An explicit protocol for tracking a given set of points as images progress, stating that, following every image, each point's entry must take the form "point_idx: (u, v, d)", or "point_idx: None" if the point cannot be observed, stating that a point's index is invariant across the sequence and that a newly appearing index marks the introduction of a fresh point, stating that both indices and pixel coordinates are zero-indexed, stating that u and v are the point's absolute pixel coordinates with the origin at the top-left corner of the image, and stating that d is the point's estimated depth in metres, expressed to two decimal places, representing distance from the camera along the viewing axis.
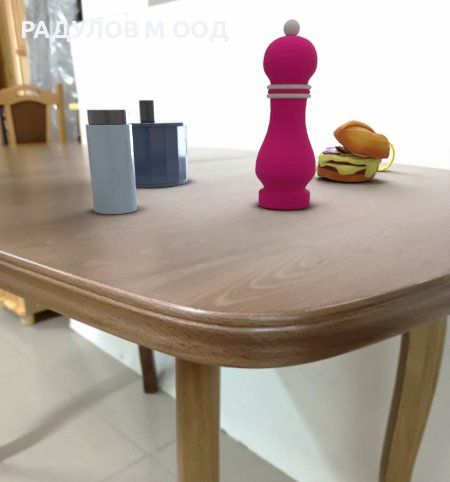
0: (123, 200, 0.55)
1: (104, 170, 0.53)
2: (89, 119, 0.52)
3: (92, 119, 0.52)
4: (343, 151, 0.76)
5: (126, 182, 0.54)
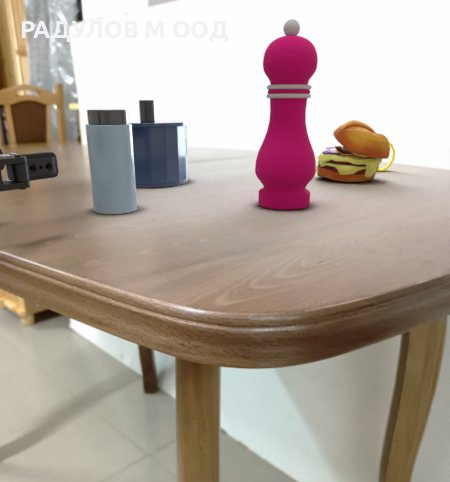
0: (123, 200, 0.55)
1: (104, 170, 0.53)
2: (89, 119, 0.52)
3: (92, 119, 0.52)
4: (343, 151, 0.76)
5: (126, 182, 0.54)
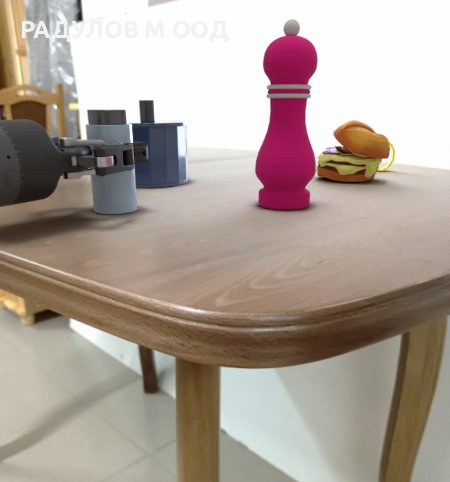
0: (123, 200, 0.55)
1: None
2: (89, 119, 0.52)
3: (93, 119, 0.52)
4: (343, 151, 0.76)
5: (126, 182, 0.54)
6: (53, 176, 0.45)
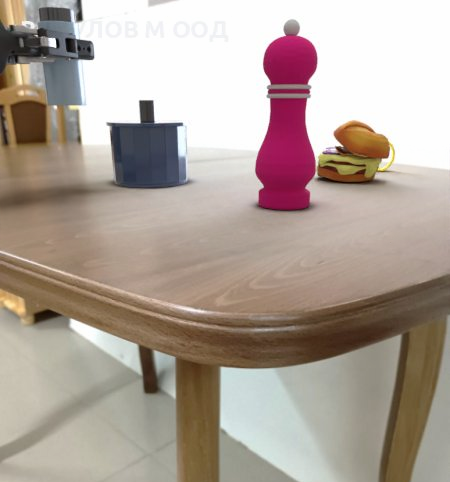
0: (71, 93, 0.62)
1: (54, 63, 0.60)
2: (39, 17, 0.60)
3: (42, 16, 0.59)
4: (343, 151, 0.76)
5: (74, 76, 0.62)
6: (2, 52, 0.53)
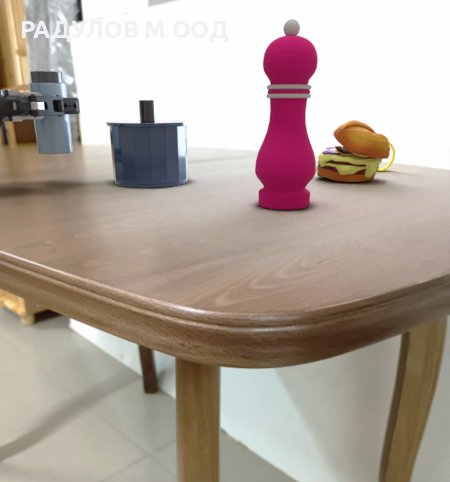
0: (59, 143, 0.71)
1: (43, 118, 0.69)
2: (31, 79, 0.68)
3: (33, 78, 0.68)
4: (343, 151, 0.76)
5: (61, 128, 0.70)
6: None
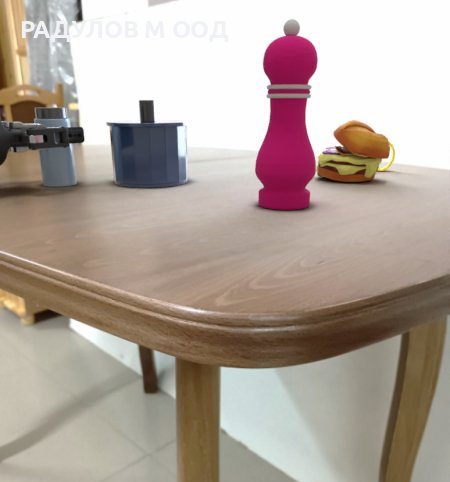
0: (64, 176, 0.73)
1: (48, 153, 0.71)
2: (36, 114, 0.70)
3: (38, 114, 0.70)
4: (343, 151, 0.76)
5: (65, 162, 0.72)
6: (3, 149, 0.63)
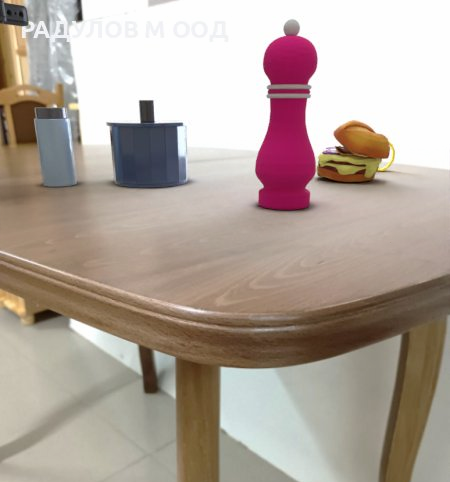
0: (64, 176, 0.73)
1: (48, 153, 0.71)
2: (36, 114, 0.70)
3: (38, 114, 0.70)
4: (343, 151, 0.76)
5: (65, 162, 0.72)
6: None
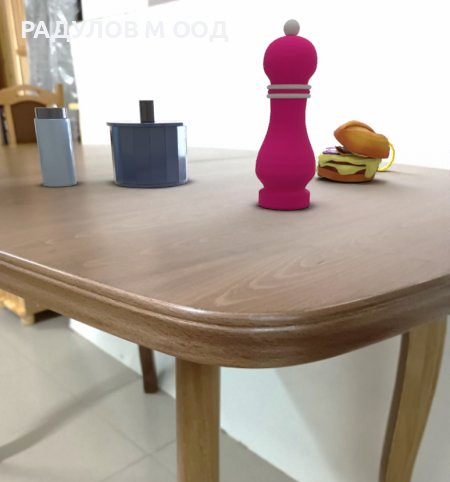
0: (64, 176, 0.73)
1: (48, 153, 0.71)
2: (36, 114, 0.70)
3: (38, 114, 0.70)
4: (343, 151, 0.76)
5: (65, 162, 0.72)
6: None
